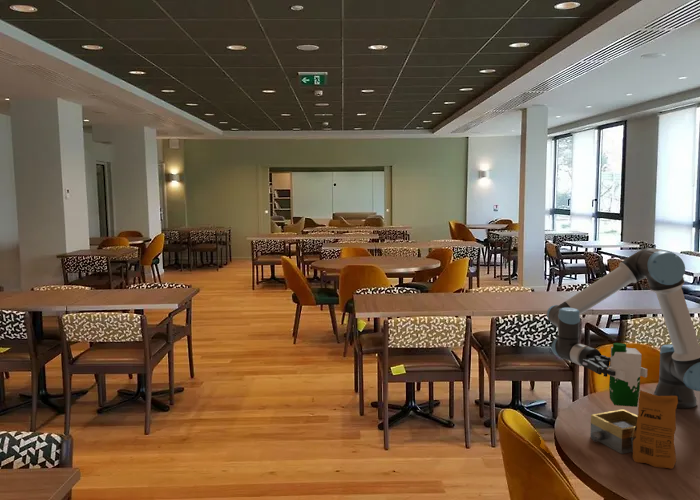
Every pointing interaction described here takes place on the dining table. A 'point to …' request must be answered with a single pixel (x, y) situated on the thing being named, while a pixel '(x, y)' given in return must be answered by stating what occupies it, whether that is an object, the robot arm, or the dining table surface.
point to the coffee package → (655, 430)
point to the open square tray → (614, 429)
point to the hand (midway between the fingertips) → (635, 374)
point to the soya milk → (631, 365)
